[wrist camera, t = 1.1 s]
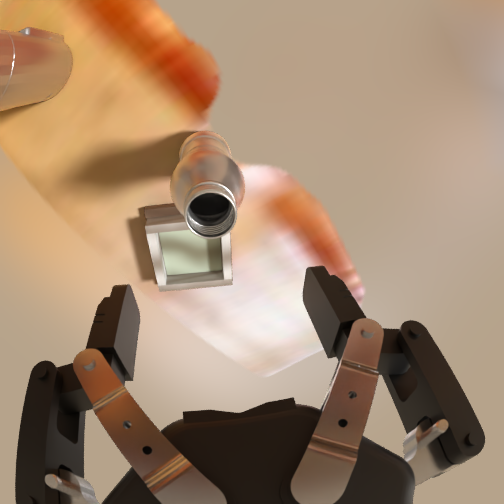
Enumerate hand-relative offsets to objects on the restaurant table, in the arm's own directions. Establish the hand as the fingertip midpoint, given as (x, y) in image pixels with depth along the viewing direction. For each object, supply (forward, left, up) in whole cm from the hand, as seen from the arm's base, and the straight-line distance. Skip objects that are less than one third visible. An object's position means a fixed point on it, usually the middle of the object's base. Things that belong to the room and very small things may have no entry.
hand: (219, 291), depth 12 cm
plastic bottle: (0, 0, -28) cm, 28 cm away
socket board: (+14, -3, -28) cm, 31 cm away
